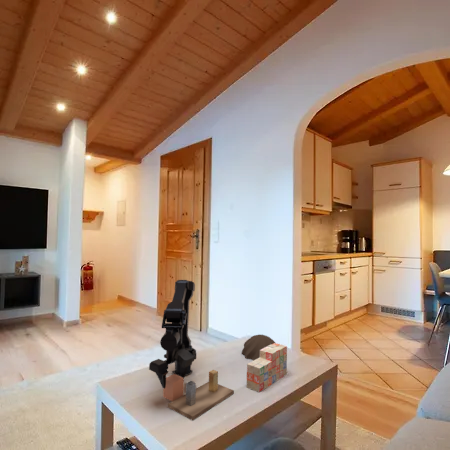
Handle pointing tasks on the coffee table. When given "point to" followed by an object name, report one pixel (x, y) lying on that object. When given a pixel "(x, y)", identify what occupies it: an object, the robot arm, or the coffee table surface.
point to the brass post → (213, 381)
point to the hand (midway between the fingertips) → (173, 383)
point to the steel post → (190, 393)
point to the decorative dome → (256, 346)
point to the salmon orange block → (173, 387)
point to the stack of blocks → (267, 367)
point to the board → (201, 401)
